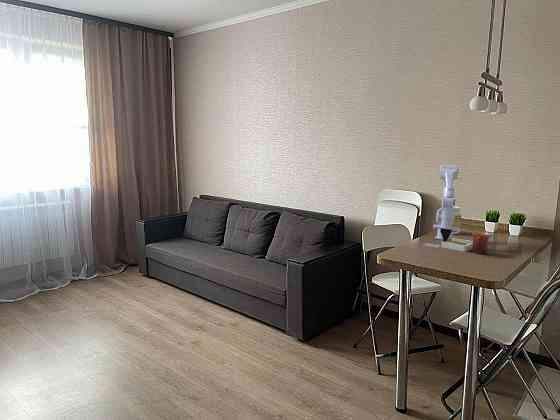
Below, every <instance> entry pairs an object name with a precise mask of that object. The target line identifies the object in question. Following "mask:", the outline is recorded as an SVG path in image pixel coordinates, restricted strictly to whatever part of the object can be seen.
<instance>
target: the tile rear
mask: <svg viewBox="0 0 560 420" xmlns="http://www.w3.org/2000/svg"><path fill="white" fill-rule="evenodd" d="M445 242H447V243H452V244H454V243H457V241H452V239H450V240H447V241H445Z"/></svg>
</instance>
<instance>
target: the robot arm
mask: <svg viewBox="0 0 560 420" xmlns="http://www.w3.org/2000/svg"><path fill="white" fill-rule="evenodd" d="M459 168H460V166H459V165H458V164H453V165H452V164H440V171H439V177H440V180H442V181H443V191H442V192H443V194H442V200H441V201H442V202H441V207H440V208H439V209H437V211H436V216H435V217H436V218H435V221H436V223H438V224H433V225H432V228H433V229H437V235H436V236H435V237H434V239H439V240H442V242H445V241H448V240H452V238H454V237H453V234H452V231H457V232H459V233H460V232H461V227H460V228H457V227H452V224H453V223H454V211H453V210H454V208H453V206H454V207H455V206H456V197H455V187H454V186H453V183H454V181H456V180H457V178H458V176H459ZM441 212H442V213H441Z"/></svg>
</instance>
